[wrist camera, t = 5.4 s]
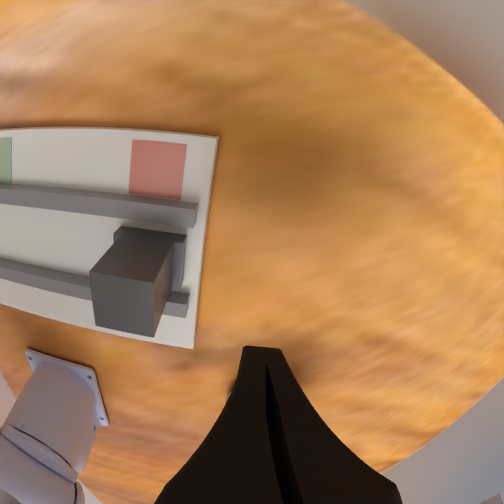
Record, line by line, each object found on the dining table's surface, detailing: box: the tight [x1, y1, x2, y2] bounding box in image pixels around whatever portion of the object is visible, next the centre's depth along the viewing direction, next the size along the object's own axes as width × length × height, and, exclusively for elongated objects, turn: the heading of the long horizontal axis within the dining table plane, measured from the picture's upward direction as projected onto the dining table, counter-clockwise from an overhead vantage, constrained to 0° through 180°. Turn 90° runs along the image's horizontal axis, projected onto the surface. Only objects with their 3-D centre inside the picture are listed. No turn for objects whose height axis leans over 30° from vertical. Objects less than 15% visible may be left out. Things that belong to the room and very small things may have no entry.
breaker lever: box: [89, 226, 187, 338], centre depth 15 cm, size 3×4×6 cm
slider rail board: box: [0, 126, 219, 349], centre depth 18 cm, size 14×18×3 cm
